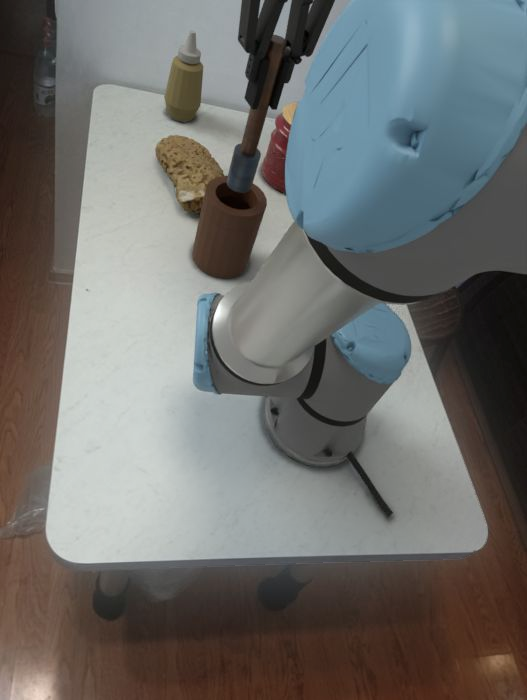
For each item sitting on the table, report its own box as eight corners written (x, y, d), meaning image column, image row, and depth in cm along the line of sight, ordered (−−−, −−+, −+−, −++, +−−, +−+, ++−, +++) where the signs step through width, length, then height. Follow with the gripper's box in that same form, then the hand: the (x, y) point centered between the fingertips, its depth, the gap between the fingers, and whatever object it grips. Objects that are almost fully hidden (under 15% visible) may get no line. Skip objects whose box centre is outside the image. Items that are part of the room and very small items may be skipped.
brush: (256, 186, 85) (298, 43, 68) (241, 196, 82) (281, 50, 66) (236, 173, 86) (273, 28, 69) (221, 182, 83) (255, 34, 66)
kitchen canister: (248, 166, 116) (270, 88, 103) (290, 155, 124) (316, 80, 110) (287, 203, 112) (315, 126, 99) (328, 189, 119) (360, 115, 106)
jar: (257, 261, 99) (278, 200, 88) (224, 287, 93) (242, 225, 82) (215, 231, 101) (231, 168, 90) (180, 255, 95) (192, 190, 84)
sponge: (229, 224, 105) (218, 146, 113) (231, 198, 98) (220, 116, 106) (160, 227, 103) (155, 148, 111) (157, 200, 96) (152, 117, 104)
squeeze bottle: (192, 129, 119) (206, 47, 106) (157, 117, 119) (167, 32, 105) (202, 113, 125) (217, 31, 111) (168, 100, 124) (179, 17, 110)
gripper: (360, -110, 61) (297, 90, 79) (236, -139, 54) (198, 86, 72) (394, -83, 57) (319, 120, 75) (266, -111, 51) (218, 119, 69)
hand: (260, 103), depth 74 cm, fingers closed on brush, 2 cm apart
